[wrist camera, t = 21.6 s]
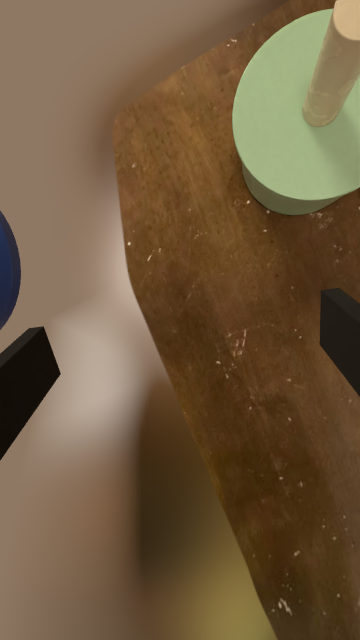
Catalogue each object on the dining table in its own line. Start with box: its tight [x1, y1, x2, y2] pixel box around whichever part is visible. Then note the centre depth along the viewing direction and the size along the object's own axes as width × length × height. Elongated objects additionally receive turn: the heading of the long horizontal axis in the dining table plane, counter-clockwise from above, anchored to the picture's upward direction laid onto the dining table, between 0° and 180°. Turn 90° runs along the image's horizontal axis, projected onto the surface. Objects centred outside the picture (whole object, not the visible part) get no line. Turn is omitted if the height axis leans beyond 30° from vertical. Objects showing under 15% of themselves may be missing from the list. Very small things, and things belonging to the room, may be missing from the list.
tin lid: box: [232, 0, 360, 202], centre depth 19 cm, size 13×13×10 cm
